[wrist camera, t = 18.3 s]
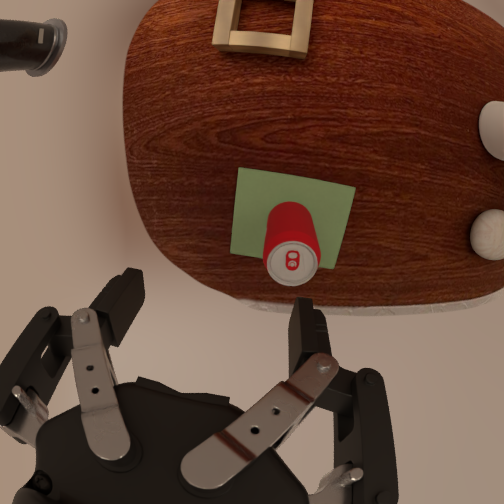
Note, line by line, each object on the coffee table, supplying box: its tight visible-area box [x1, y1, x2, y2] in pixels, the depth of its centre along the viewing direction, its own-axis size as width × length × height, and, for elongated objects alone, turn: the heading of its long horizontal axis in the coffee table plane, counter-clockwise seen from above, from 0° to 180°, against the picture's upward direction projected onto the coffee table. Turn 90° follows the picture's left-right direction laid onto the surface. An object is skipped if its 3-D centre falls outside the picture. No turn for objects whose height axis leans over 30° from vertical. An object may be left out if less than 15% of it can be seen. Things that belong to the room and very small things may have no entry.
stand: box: [212, 0, 313, 59], centre depth 24 cm, size 11×11×4 cm
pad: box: [230, 167, 356, 269], centre depth 38 cm, size 16×13×1 cm
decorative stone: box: [470, 209, 504, 260], centre depth 32 cm, size 13×9×5 cm
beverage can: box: [263, 201, 321, 286], centre depth 33 cm, size 6×6×12 cm
